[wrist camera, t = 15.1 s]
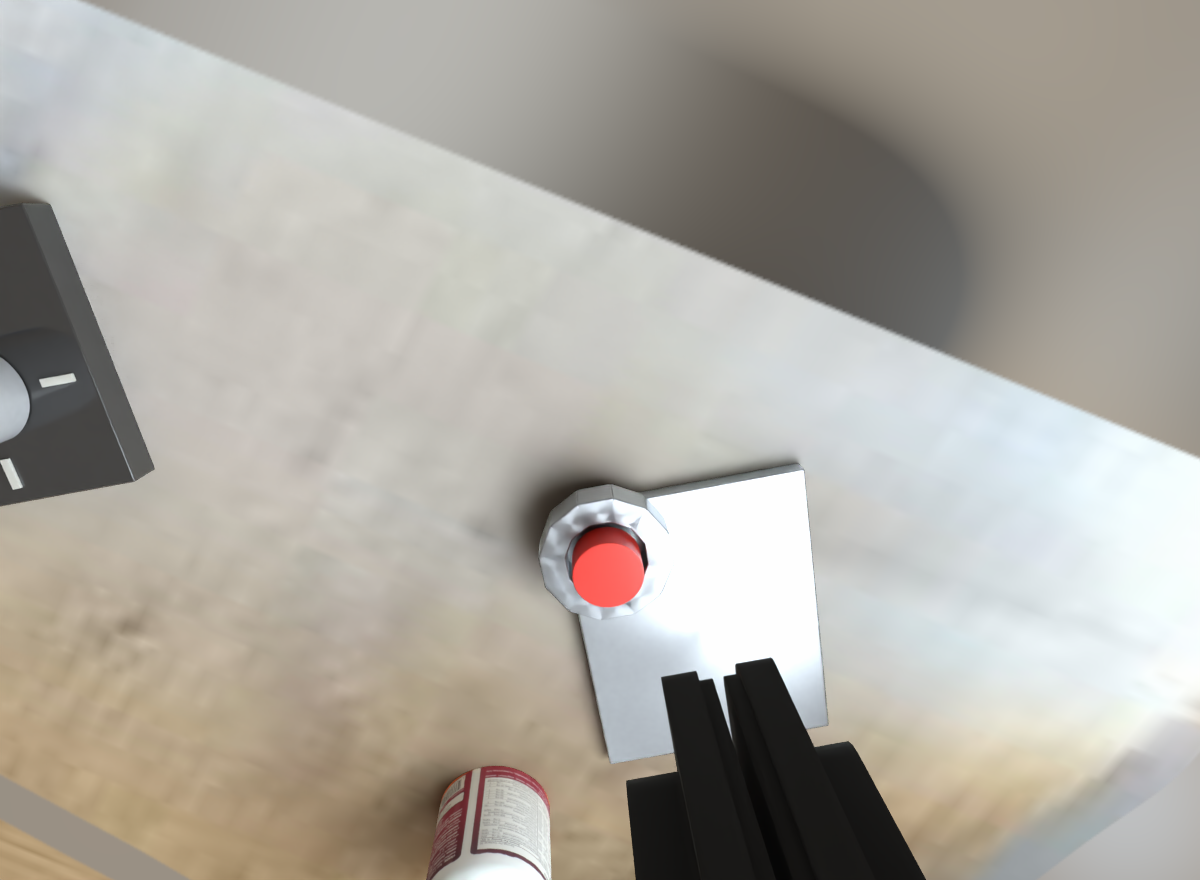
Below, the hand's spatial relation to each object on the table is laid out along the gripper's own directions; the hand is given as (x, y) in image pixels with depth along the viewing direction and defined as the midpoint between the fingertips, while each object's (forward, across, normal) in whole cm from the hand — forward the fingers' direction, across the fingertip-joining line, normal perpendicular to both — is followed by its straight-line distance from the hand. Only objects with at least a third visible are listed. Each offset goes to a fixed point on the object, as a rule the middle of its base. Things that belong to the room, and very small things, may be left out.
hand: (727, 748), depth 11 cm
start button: (+21, +2, +8) cm, 23 cm away
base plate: (+25, +27, -6) cm, 37 cm away
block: (+25, -2, +13) cm, 28 cm away
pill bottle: (+25, +11, +23) cm, 36 cm away
